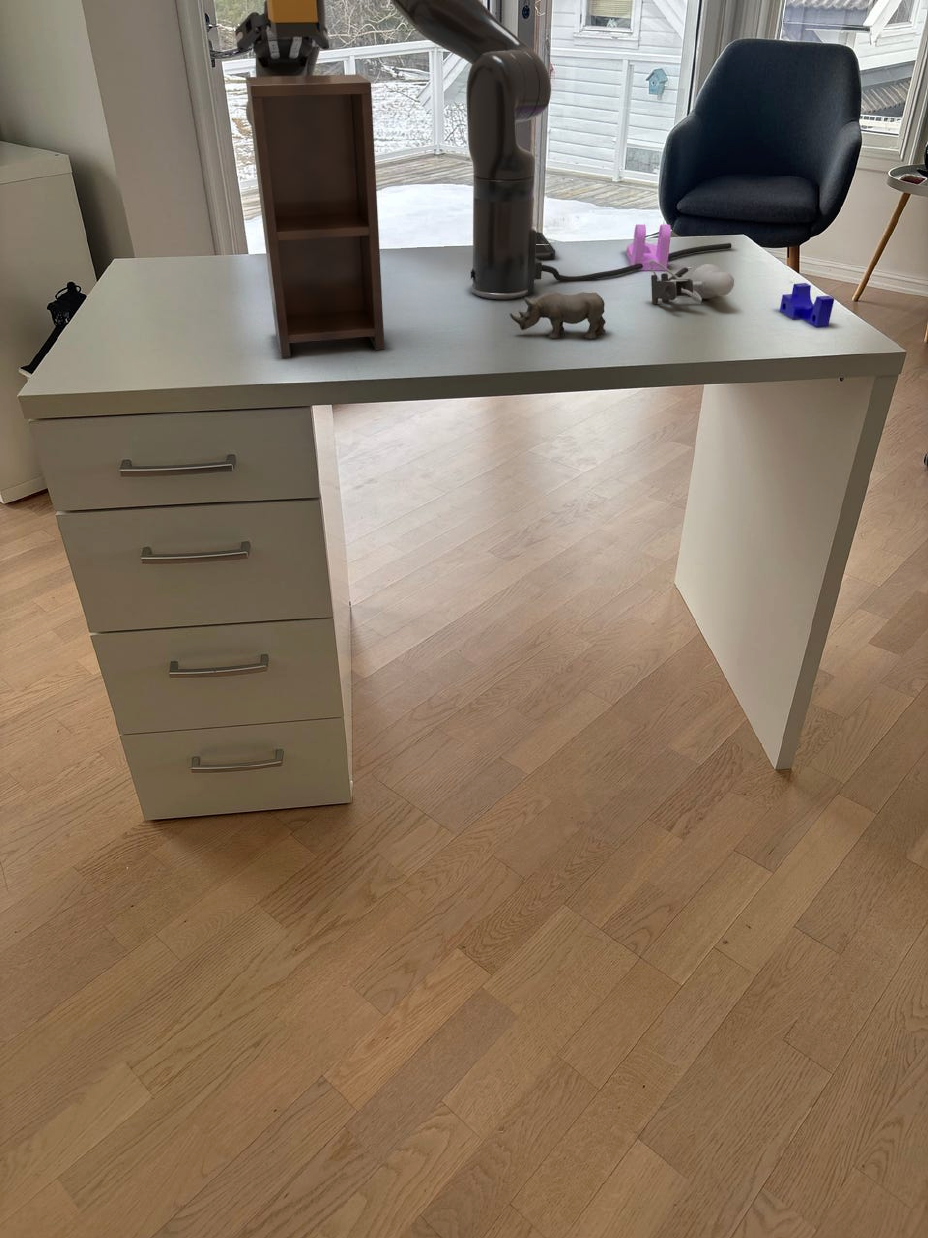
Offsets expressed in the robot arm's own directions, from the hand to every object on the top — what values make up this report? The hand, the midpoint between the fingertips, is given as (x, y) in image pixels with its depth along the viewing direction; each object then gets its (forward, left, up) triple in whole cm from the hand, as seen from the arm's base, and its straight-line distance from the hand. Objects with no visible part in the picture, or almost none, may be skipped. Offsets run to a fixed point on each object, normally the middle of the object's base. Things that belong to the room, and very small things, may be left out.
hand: (284, 3), depth 123 cm
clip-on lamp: (-57, +13, -39) cm, 70 cm away
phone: (-42, -21, -39) cm, 61 cm away
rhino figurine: (-32, +25, -39) cm, 56 cm away
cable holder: (-70, +27, -39) cm, 85 cm away
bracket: (-60, -9, -39) cm, 72 cm away
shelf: (0, +20, -39) cm, 44 cm away
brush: (0, +4, -3) cm, 5 cm away
